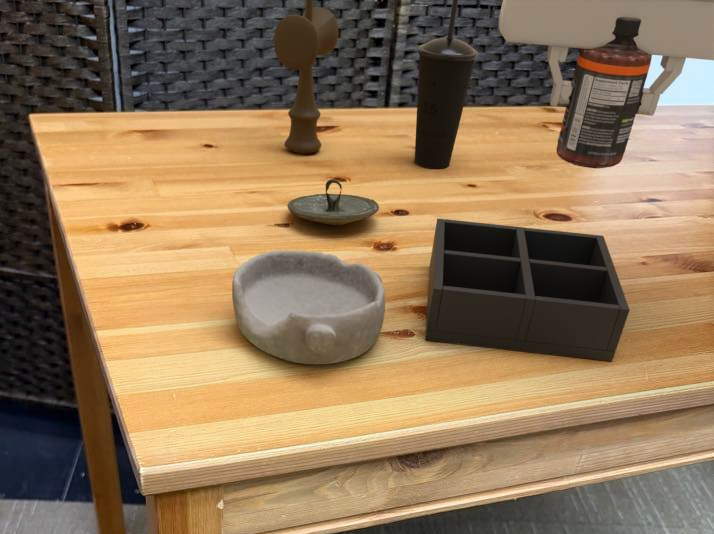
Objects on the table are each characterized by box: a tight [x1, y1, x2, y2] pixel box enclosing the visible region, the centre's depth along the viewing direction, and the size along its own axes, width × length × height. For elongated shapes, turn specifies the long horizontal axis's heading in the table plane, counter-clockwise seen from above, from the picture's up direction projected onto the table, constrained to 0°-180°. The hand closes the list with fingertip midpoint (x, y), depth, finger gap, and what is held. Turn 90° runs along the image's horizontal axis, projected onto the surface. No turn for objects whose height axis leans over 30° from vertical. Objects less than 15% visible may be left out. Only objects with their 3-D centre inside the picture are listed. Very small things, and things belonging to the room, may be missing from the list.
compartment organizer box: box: [424, 218, 630, 362], centre depth 78 cm, size 17×17×5 cm
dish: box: [231, 250, 386, 365], centre depth 72 cm, size 14×14×5 cm
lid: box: [286, 178, 380, 227], centre depth 93 cm, size 11×10×5 cm
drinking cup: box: [414, 0, 479, 170], centre depth 105 cm, size 8×8×20 cm
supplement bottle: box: [556, 17, 653, 169], centre depth 70 cm, size 6×6×11 cm
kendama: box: [273, 0, 340, 154], centre depth 107 cm, size 6×10×20 cm, turn 160°
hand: (601, 109), depth 71 cm, fingers closed on supplement bottle, 6 cm apart
